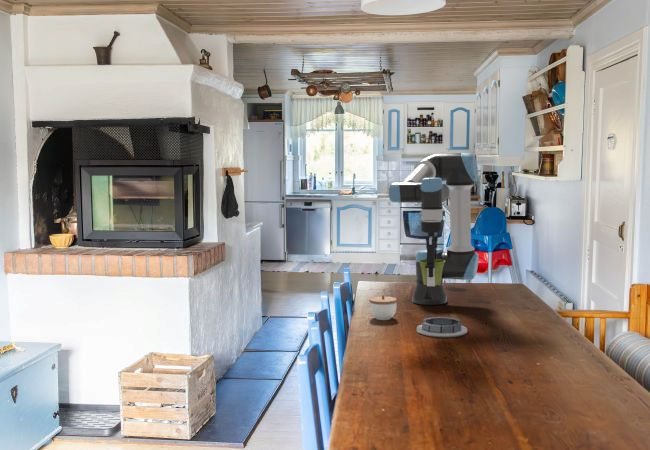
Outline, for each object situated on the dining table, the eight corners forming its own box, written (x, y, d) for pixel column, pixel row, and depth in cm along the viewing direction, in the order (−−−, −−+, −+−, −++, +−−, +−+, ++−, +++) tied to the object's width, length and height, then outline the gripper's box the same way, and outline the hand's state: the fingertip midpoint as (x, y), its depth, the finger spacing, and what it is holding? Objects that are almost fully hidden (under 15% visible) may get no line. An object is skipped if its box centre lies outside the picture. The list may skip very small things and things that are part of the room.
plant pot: (444, 287, 237) (444, 262, 236) (417, 286, 239) (417, 262, 238) (446, 282, 246) (445, 259, 245) (420, 282, 248) (419, 258, 247)
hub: (442, 323, 256) (442, 313, 255) (477, 332, 241) (477, 322, 240) (406, 329, 246) (406, 320, 246) (440, 340, 231) (440, 330, 231)
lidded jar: (387, 322, 258) (387, 298, 257) (364, 319, 264) (364, 295, 263) (402, 317, 266) (401, 294, 265) (379, 314, 273) (378, 291, 272)
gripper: (423, 218, 251) (424, 278, 253) (418, 223, 231) (418, 288, 233) (444, 218, 250) (444, 279, 252) (440, 223, 229) (440, 289, 231)
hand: (431, 283), depth 242 cm, fingers closed on plant pot, 8 cm apart
